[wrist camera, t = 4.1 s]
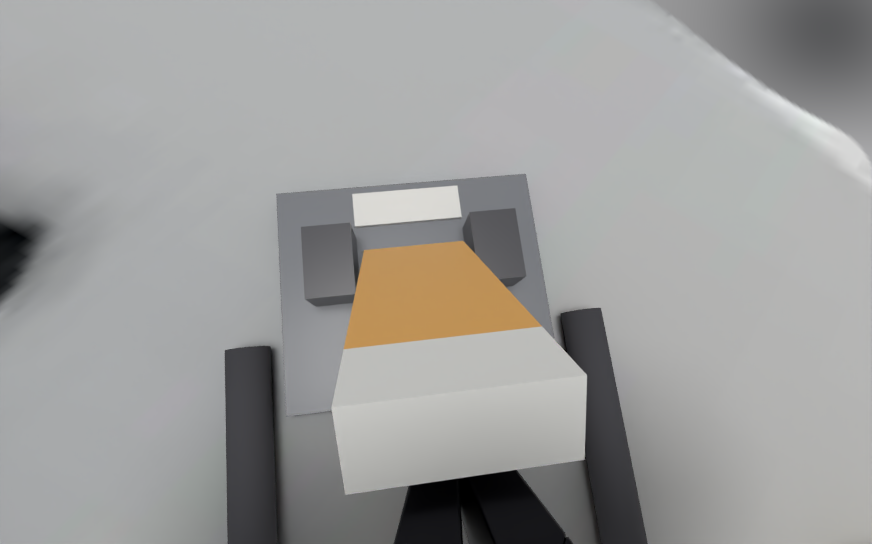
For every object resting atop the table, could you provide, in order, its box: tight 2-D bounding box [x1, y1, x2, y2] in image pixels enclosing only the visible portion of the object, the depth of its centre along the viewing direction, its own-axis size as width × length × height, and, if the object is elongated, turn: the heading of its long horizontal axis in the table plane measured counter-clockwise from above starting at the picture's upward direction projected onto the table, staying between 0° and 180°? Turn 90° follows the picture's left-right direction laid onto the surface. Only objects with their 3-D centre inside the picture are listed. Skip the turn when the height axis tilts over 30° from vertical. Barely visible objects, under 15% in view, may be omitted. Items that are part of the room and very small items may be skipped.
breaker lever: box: [331, 241, 587, 495], centre depth 13 cm, size 2×4×13 cm, turn 97°
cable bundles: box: [225, 308, 648, 544], centre depth 18 cm, size 12×17×2 cm
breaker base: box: [276, 174, 554, 417], centre depth 19 cm, size 10×12×3 cm
